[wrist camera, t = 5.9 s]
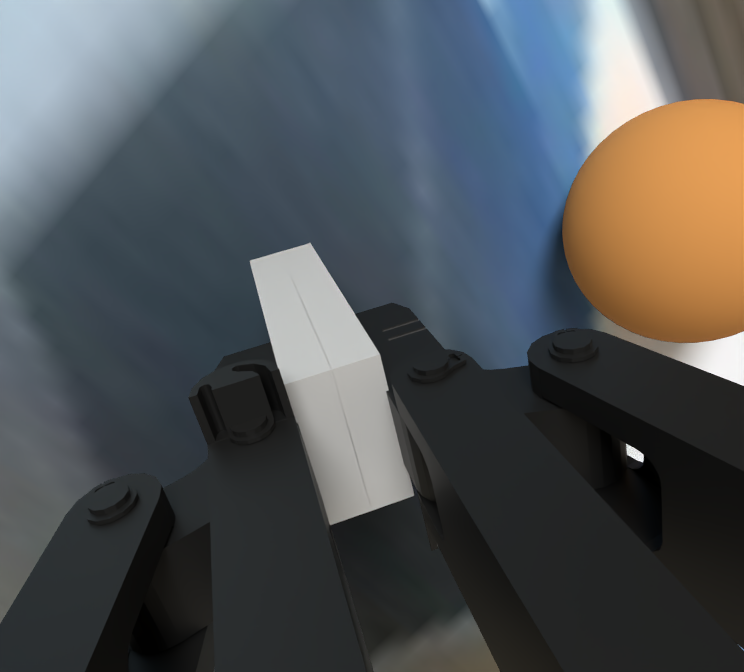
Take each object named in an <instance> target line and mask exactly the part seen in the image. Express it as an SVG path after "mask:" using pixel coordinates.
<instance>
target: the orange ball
mask: <svg viewBox="0 0 744 672" xmlns="http://www.w3.org/2000/svg"><path fill="white" fill-rule="evenodd" d="M562 236H563V244H564V251H565V256H566V259H567V263H568V266H569V269H570V271H571V273H572V275H573V278H574V280H575V282H576V283H577V285H578V287H579V288H580V290H581V291H582V293H583V294H584V296H585V297H586V298H587V299H588V300H589V301H590V303H591V304H592V305H593V306H594V307H595V308H596V309H597V310H598V311H600V312H601V313H602V314H603V315H604V316H605V317H607V318H608V319H610V320H611V321H613V322H614V323H616V324H617V325H619V326H621V327H623V328H625V329H627V330H629V331H631V332H633V333H636V334H639V335H641V336H644V337H647V338H652V339H656V340H660V341H667V342H677V343H697V342H705V341H712V340H717V339H721V338H725V337H729V336H732V335H735V334H738V333H740V332H743V331H744V104H741V103H737V102H733V101H725V100H716V99H698V100H688V101H681V102H675V103H672V104H668V105H664V106H660V107H657V108H655V109H652V110H650V111H647V112H645V113H643V114H641V115H639V116H637V117H635V118H633V119H631V120H630V121H628V122H626V123H625V124H623V125H622V126H620V127H619V128H618V129H616V130H615V131H613V132H612V133H611V134H610V135H609V136H608V137H607V138H605V139H604V140H603V141H602V142H601V143H600V144H599V145H598V146H597V147H596V149H595V150H594V151H593V152H592V153H591V154H590V155H589V157H588V158H587V160H586V161H585V162H584V164H583V165H582V167H581V168H580V170H579V172H578V174H577V176H576V178H575V180H574V181H573V183H572V186H571V189H570V192H569V194H568V197H567V200H566V205H565V210H564V215H563V226H562Z"/></svg>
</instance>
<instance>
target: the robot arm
mask: <svg viewBox="0 0 744 672" xmlns="http://www.w3.org/2000/svg"><path fill="white" fill-rule="evenodd" d="M250 264H251V268H252V272H253V276H254V279H255V283H256V287H257V291H258V295H259V298H260V302H261V306H262V310H263V314H264V317H265V321H266V325H267V329H268V333H269V336H270V340H271V342H270V343H266V344H263V345H260V346H257V347H253V348H250V349H247V350H244V351H241V352H237V353H234V354H231V355H228V356H224V357H223V359H222V360H221V362H220V363H219V365H218V366H217V368H216V369H215V371H214V372H212V373H210V374H209V375H207V376H205V377H204V378H202V379H201V380H200V381H199V382H198V383H197V384H196V385H195V386H194V387H193V388H192V390H191V392H190V395H189V397H188V398H189V400H190V403H191V405H192V408H193V410H194V413H195V415H196V417H197V420H198V422H199V425H200V427H201V430H202V432H203V435H204V437H205V440H206V442H207V444H208V459H207V460H206V461H205V462H204V463H203V464H202V465H200V466H199V467H198V468H197V469H196V470H194V471H193V472H191V473H189V474H188V475H186V476H185V477H183V478H181V479H179V480H178V481H176V482H174V483H172V484H170V485H168V486H166V487H165V488H163V487H162V485H161V484H160V482H159V481H158V479H157V478H156V477H155V476H151V475H148V474H145V473H141V474H128V475H125V476H122V477H118V478H113V479H110V480H108V481H106V482H104V484H100V485H98V486H96V487H95V488H93V489H92V490H91V491H90V492H88V493H87V494H86V495H85V496H83V497H82V498H81V499H79V500H78V501H77V502H76V503H75V505H74V506H73V507H72V508H71V509H70V511H69V512H68V513H67V514H66V516H65V517H64V519H63V521H62V522H61V524H60V526H59V527H58V529H57V531H56V532H55V534H54V536H53V537H52V539H51V541H50V542H49V544H48V546H47V547H46V549H45V551H44V552H43V554H42V556H41V557H40V559H39V561H38V562H37V564H36V566H35V567H34V569H33V571H32V572H31V574H30V576H29V577H28V579H27V581H26V582H25V584H24V586H23V587H22V589H21V590H20V592H19V594H18V595H17V597H16V599H15V600H14V602H13V604H12V605H11V607H10V609H9V610H8V612H7V614H6V615H5V617H4V619H3V620H2V622H1V624H0V672H213V671H214V667H215V672H374V671H373V668H372V664H371V661H370V657H369V654H368V651H367V647H366V644H365V640H364V637H363V634H362V630H361V627H360V623H359V620H358V617H357V613H356V610H355V606H354V603H353V599H352V596H351V593H350V589H349V586H348V582H347V579H346V576H345V572H344V569H343V565H342V562H341V559H340V555H339V552H338V548H337V545H336V542H335V539H334V536H333V533H332V530H331V527H330V525H333V524H335V523H338V522H341V521H344V520H347V519H350V518H352V517H355V516H358V515H361V514H364V513H367V512H369V511H372V510H375V509H378V508H381V507H384V506H386V505H389V504H392V503H395V502H398V501H401V500H403V499H406V498H409V497H412V496H414V492H413V488H412V484H411V480H410V477H411V479H412V481H413V483H414V485H415V487H416V489H417V492H418V496H419V500H420V504H421V509H422V513H423V517H424V521H425V525H426V530H427V534H428V538H429V542H430V546H431V550H435V549H438V546H439V548H440V550H441V552H442V554H443V556H444V559H445V561H446V563H447V565H448V567H449V569H450V571H451V573H452V575H453V577H454V579H455V581H456V583H457V585H458V587H459V589H460V591H461V593H462V595H463V597H464V599H465V601H466V603H467V605H468V607H469V609H470V611H471V613H472V615H473V617H474V619H475V621H476V623H477V625H478V627H479V629H480V631H481V633H482V635H483V637H484V639H485V641H486V643H487V645H488V647H489V649H490V651H491V654H492V656H493V658H494V660H495V662H496V664H497V666H498V668H499V670H500V672H744V651H743V650H742V649H741V648H740V647H739V646H741V647H742V648H743V649H744V386H742V385H739V384H737V383H734V382H732V381H729V380H726V379H724V378H721V377H719V376H716V375H714V374H711V373H708V372H706V371H703V370H701V369H698V368H695V367H693V366H690V365H688V364H685V363H682V362H680V361H677V360H675V359H672V358H670V357H667V356H664V355H662V354H659V353H657V352H654V351H651V350H649V349H646V348H644V347H641V346H638V345H636V344H633V343H631V342H628V341H625V340H623V339H620V338H618V337H615V336H613V335H610V334H607V333H604V332H600V331H596V330H592V329H577V328H569V329H566V330H564V329H562V330H558V331H555V332H553V333H551V334H548V335H545V336H542V337H541V338H539V339H538V340H536V341H535V342H533V343H532V344H531V346H530V348H529V350H528V351H527V355H528V363H529V365H528V366H521V367H514V368H507V369H496V370H483V369H482V368H481V367H480V366H479V365H478V364H477V363H476V361H475V360H474V359H473V358H472V357H470V356H468V355H467V354H465V353H464V352H460V351H455V350H450V349H448V350H445V349H444V348H443V347H442V346H441V345H440V343H439V342H438V341H437V340H436V339H435V338H434V336H433V335H432V334H431V333H430V332H429V331H428V330H427V329H426V328H425V326H424V325H423V324H422V323H421V321H420V320H418V318H417V317H416V316H415V315H414V313H413V312H412V311H411V310H410V309H409V308H406V307H403V306H401V305H398V304H395V303H390V304H386V305H383V306H380V307H377V308H373V309H370V310H367V311H364V312H360V313H357V314H354V312H353V310H352V309H351V307H350V306H349V304H348V303H347V301H346V299H345V298H344V296H343V295H342V293H341V291H340V290H339V288H338V287H337V285H336V283H335V282H334V280H333V279H332V277H331V275H330V274H329V272H328V271H327V269H326V268H325V266H324V264H323V263H322V261H321V260H320V258H319V256H318V255H317V253H316V252H315V250H314V248H313V247H312V245H311V244H310V243H309V244H306V245H302V246H299V247H295V248H292V249H288V250H285V251H282V252H278V253H275V254H271V255H268V256H264V257H261V258H257V259H254V260H251V261H250ZM626 444H628V445H630V446H632V447H634V448H635V449H637V450H638V451H640V452H641V453H642V454H644V461H643V463H642V462H640V461H637V460H635V459H633V458H632V457H630V456H628V455H627V451H626ZM409 475H410V476H409ZM437 544H438V545H437Z"/></svg>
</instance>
